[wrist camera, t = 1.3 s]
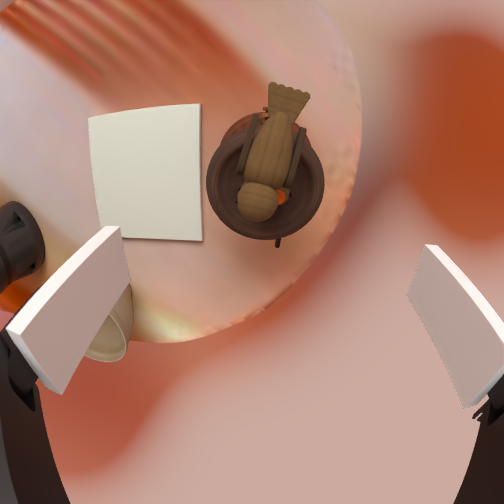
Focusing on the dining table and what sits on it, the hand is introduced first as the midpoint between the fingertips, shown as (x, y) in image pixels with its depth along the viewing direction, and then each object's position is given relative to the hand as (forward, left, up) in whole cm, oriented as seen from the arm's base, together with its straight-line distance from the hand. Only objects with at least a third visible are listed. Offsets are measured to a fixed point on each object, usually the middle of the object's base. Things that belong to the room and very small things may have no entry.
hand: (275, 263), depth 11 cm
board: (-16, -2, -24) cm, 29 cm away
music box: (0, 0, -24) cm, 24 cm away
